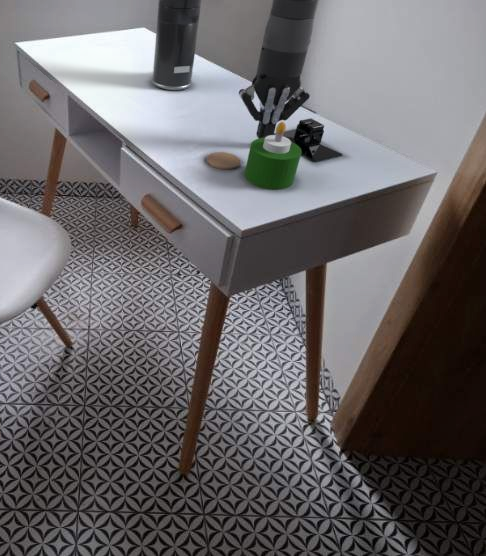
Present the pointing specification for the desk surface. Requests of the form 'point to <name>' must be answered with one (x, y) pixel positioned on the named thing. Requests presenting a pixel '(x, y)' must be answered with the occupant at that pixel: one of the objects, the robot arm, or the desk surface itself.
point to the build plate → (311, 140)
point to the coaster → (223, 160)
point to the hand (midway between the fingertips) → (263, 140)
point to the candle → (273, 161)
